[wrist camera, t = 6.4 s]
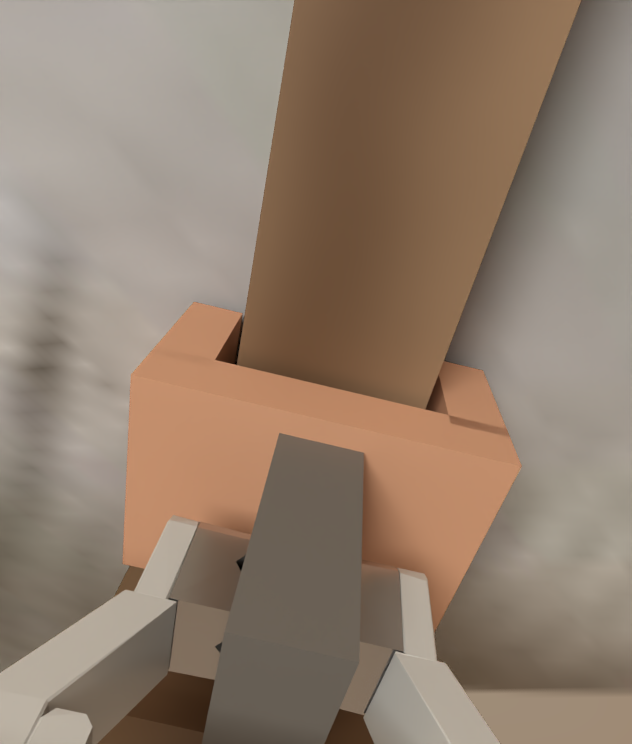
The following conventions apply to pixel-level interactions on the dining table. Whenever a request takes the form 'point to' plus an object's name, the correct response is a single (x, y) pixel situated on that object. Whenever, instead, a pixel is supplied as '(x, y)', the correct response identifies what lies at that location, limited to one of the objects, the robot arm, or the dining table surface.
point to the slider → (305, 509)
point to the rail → (377, 218)
